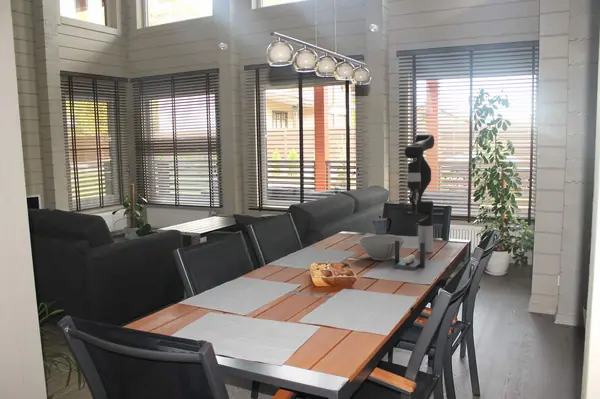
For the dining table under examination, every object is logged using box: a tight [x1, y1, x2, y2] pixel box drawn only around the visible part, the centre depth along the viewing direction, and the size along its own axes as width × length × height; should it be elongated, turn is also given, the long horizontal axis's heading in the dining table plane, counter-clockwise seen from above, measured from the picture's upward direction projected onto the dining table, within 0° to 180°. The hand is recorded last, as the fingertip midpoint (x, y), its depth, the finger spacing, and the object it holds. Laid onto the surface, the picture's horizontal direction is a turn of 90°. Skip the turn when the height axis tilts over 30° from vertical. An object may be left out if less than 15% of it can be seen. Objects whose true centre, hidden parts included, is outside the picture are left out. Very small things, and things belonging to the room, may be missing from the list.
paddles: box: [403, 254, 416, 263], centre depth 294 cm, size 10×3×2 cm, turn 149°
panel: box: [394, 258, 420, 271], centre depth 294 cm, size 16×12×3 cm
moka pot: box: [371, 215, 393, 235], centre depth 359 cm, size 10×15×20 cm, turn 115°
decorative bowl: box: [359, 234, 405, 261], centre depth 315 cm, size 27×27×12 cm
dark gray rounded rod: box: [394, 241, 400, 265], centre depth 298 cm, size 3×3×14 cm
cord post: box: [419, 243, 426, 269], centre depth 290 cm, size 3×3×14 cm
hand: (414, 210), depth 297 cm, fingers closed
